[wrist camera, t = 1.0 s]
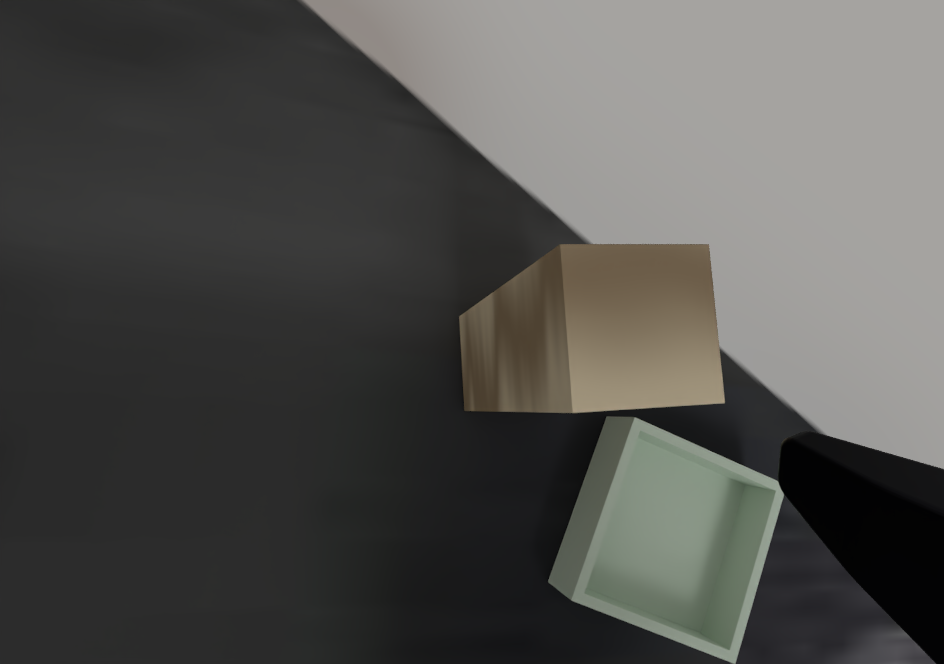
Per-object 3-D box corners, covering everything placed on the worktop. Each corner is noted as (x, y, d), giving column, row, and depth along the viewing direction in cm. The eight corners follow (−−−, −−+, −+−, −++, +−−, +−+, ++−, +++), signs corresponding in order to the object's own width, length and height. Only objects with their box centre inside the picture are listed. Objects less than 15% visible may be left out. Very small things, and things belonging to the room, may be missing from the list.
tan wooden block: (554, 405, 27) (724, 403, 15) (464, 410, 26) (572, 412, 14) (548, 314, 27) (708, 244, 16) (459, 316, 26) (560, 244, 15)
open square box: (697, 640, 27) (735, 664, 24) (547, 581, 26) (571, 600, 23) (746, 478, 28) (786, 485, 26) (606, 416, 27) (634, 416, 25)
